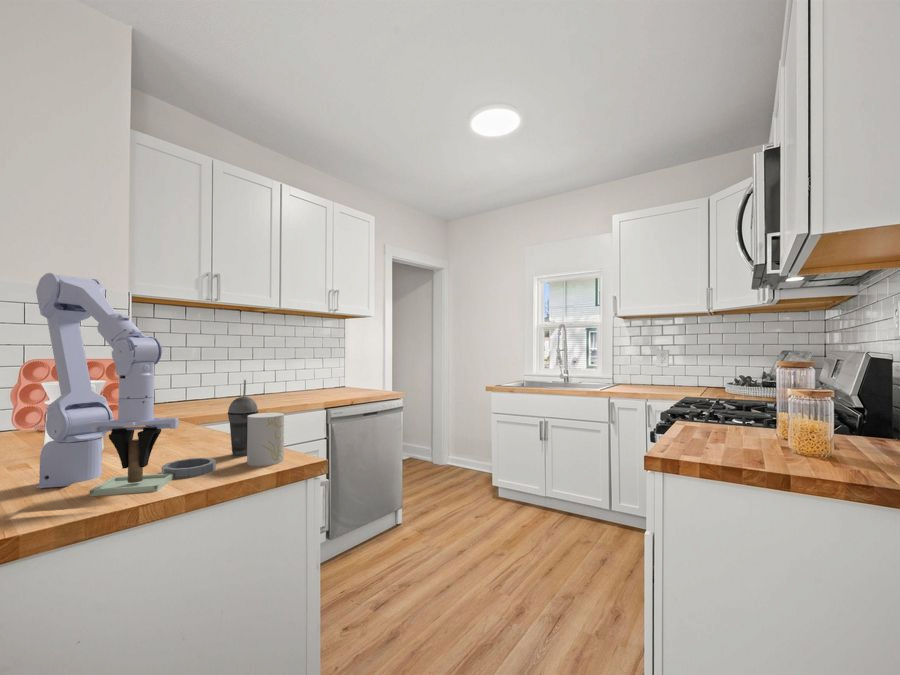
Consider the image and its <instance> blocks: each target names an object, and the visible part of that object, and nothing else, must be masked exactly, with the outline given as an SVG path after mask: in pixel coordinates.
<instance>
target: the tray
mask: <svg viewBox="0 0 900 675" xmlns="http://www.w3.org/2000/svg"><path fill="white" fill-rule="evenodd" d="M173 480H174V473H167V474H161V473H155V474H154V473H153V474H143V480H142V481H140V482H135V483H128V475H125V476H113V477H112V478H110V479H108V480H106V481H104V482H103V483H101V484H99V485H97V486H95V487H93V488H92V489H90V490H89V497H97V496H98V497H99V496H110V495H111V496H112V495H124V494H137V493H149V492H151V493H152V492H159V491H160V490H162V488H164V487H165V486H167V484H168V483H170V482H171V481H173Z"/></svg>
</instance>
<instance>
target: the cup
mask: <svg viewBox="0 0 900 675" xmlns="http://www.w3.org/2000/svg"><path fill="white" fill-rule="evenodd" d="M284 456H285V413H282V412H261V413H259V412H258V414H252V415H248V424H247V456H246V460H247V461H246V464H247V465H248V466H252V467H268V466H274V465H278V464H281V463H284V460H285V457H284Z"/></svg>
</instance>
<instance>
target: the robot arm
mask: <svg viewBox="0 0 900 675" xmlns="http://www.w3.org/2000/svg"><path fill="white" fill-rule="evenodd" d="M35 293H36V299H37V303H38V308H39V313H40V315H41V316H42V317H44V318H45V319H46V321H47V326H48V331H49V338H50V343H51V348H52V349H51V350H52V352H53V359H54V366H55V369H56V375H57V380H58V381H57V382H58V386H59V392H60V396H59V397H58V398H56V399H55V400H54V401H52V402H51V403H50V404H49V405H48V406H47V407H46V420H45V429H46V430H45V431H46V433H47V435H48V437H49V438H50V439H51V441H48V442H46V443H45V444H44V445H43V447H42V449H41V451H40V455H39V478H38V479H39V484H38V485H37V486H36V489H44V488H45V489H46V488H59V487H60V488H61V487H69V486H71V485H73V484H75V483H80V482H87V481H91V480H94V479H98V478H99V477H101V476H102V469H103V468H102V464H103V463H102V460H103V437H107V433H108V432H111V433H110V434H108V439H109V440H110V442H111V444H112V445H113V447H114V448H115V450H116V452H117V455H118V456H119V460H120V464H121V468H122V469H123V470H124V469H128V441H129V440H134V434H135V431H137V430H141V431H137V434H136V435H137V439H138V440H139V447H140V456H139V466H140V468H141V467H143V468H145V467H147V466H148V465H149V460H150V456H151V454H152V450H153V448H154V446H155V443H156V441H157V439H158V438H159V436H160V434H161V433H162V429H163V430H165V429H169V430H171V429H174V430H175V429H177V428H179V424H180V420H179V417H154V411H155V410H154V409H155V408H154V406H155V366H156V365H157V364H159V362H160V361H161V359H162V355H163V348H162V345H161V343H160V341H159V339H158V338H157V337H155V336H148V335H144V333H143V332H142V331H141V330H140V329H139V328H138V327H137V326H136V325H135V324H134V323H135V322H134V323H133V321H132V320H131V319H130V316H129V315H128V314H123V313H119V312H118V313H117V312H116V311H115V309H114V308H113V306H112V305H111V303H110V302H109V300H107V298H106V297H105V296H106V287H105V286H104V285H103V283H102V282H101V281H100V280H99V279H96V278H84V277H78V276H77V277H76V276H71V275H63V274H62V275H61V274H55V273H53V272H47V273H45V274H43V276H42V277H41V278H39V281H38V283H37V286H36V289H35ZM90 317H92V318H93V319H94V320H96V321H97V328H96V329H97V332H98V333H99V334H100V336H101V337H102V338H103V339H104V340H105V341H106V343H107V344H108V345H109V347H111V348H112V351H111V358H112V361H113V362H114V365H115V366H114V367H115V373H116V375H117V376H118V400H117V401H118V405H117V408H118V409H117V411H118V412H117V418H118V419H114V413H113V411H112V410H111V408H110V406H109V404H108V402H107V398H106V397H105V396H103V395H102V394H100V393H98V392H96V391H94V390H93V388H92V383H91V381H92V380H91V377H90V371H89V367H88V363H87V357H86V352H85V347H84V342H83V336H82V331H81V327H80V323H81V321H82V322H83V321H85V320H87V319H90Z"/></svg>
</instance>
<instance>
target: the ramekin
mask: <svg viewBox="0 0 900 675" xmlns="http://www.w3.org/2000/svg"><path fill="white" fill-rule="evenodd" d="M216 469H217V460H216V459H214V458H211V457H195V458H194V457H193V458H183V459H180V460H179V459H177V460H174V461H170V462H166V463H165V464H163V465H161V473H160V474H167V473H174V479H175V480H176V479H186V478H187V479H189V478H195V477H200V476H205V475H208V474H210V473H213V472H214V471H215V470H216ZM174 479H173V480H174Z"/></svg>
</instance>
